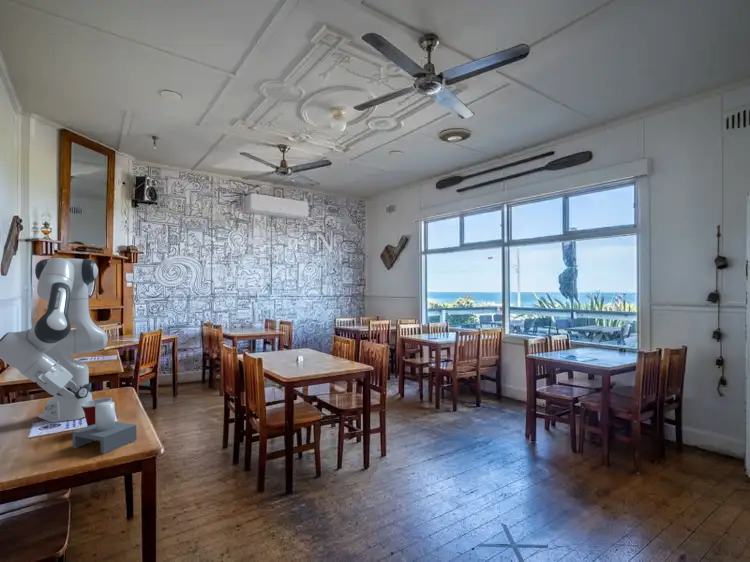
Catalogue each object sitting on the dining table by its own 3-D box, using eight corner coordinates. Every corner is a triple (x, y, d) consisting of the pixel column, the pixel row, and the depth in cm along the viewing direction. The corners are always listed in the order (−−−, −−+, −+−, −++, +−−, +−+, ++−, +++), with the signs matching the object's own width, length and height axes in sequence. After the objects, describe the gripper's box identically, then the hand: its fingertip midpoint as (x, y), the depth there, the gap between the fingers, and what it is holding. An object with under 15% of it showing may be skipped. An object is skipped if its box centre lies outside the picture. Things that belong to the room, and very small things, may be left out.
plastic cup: (84, 427, 172) (84, 398, 172) (114, 424, 176) (114, 396, 176) (76, 436, 161) (76, 406, 161) (109, 433, 166) (109, 403, 165)
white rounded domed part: (91, 430, 152) (91, 405, 152) (106, 424, 158) (105, 401, 158) (104, 431, 151) (104, 406, 151) (118, 425, 156) (118, 402, 156)
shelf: (72, 447, 151) (72, 431, 151) (106, 435, 163) (106, 420, 163) (103, 454, 145) (103, 437, 145) (136, 440, 158) (136, 424, 158)
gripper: (41, 368, 137) (77, 394, 142) (56, 357, 156) (87, 380, 160) (24, 383, 135) (61, 408, 140) (41, 370, 154) (73, 393, 158)
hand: (75, 393), depth 150 cm, fingers open, 8 cm apart
